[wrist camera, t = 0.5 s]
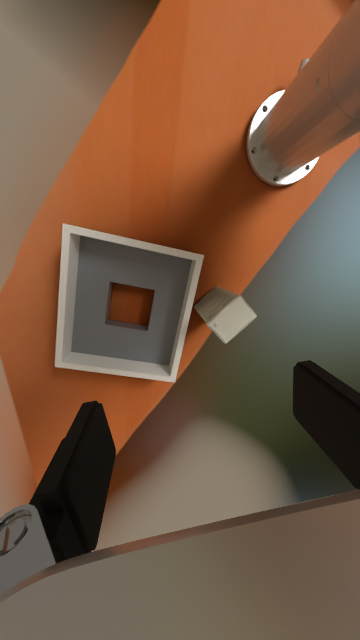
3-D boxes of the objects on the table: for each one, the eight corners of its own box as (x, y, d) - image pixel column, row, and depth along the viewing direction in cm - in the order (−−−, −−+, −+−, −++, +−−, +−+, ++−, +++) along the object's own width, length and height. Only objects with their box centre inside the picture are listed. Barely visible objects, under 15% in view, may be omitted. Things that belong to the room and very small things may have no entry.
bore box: (80, 229, 36) (62, 223, 29) (196, 255, 39) (204, 255, 32) (71, 348, 41) (54, 366, 35) (172, 363, 44) (174, 382, 38)
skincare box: (206, 321, 43) (224, 346, 31) (192, 305, 41) (205, 325, 30) (231, 300, 42) (258, 317, 30) (216, 283, 41) (240, 294, 29)
